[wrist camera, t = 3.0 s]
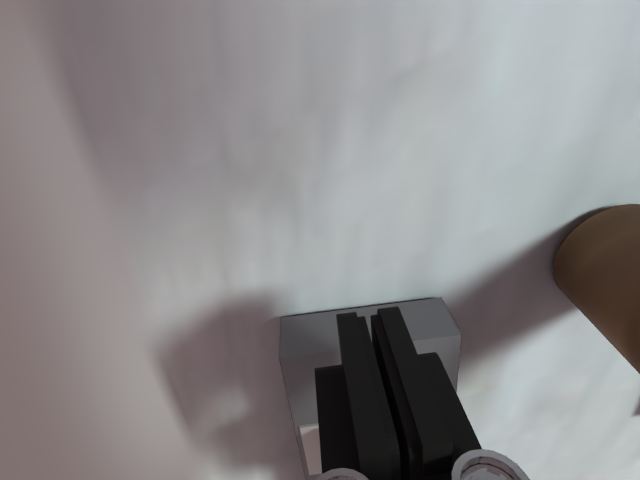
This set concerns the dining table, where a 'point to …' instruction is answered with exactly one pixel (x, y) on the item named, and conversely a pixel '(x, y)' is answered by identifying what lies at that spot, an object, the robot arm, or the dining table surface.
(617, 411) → the dining table surface
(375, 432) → the robot arm
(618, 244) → the tool handle
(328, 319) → the switch board
